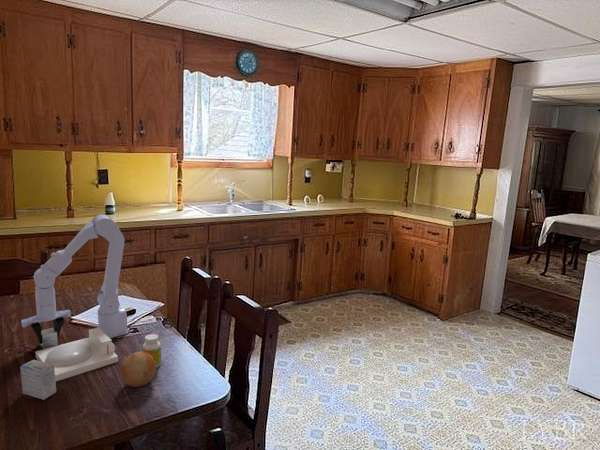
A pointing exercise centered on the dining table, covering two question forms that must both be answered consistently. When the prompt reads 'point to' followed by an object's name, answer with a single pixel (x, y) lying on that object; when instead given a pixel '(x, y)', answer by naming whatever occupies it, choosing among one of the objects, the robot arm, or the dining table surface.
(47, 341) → the steel weight
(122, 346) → the dining table surface
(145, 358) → the onion
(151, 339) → the supplement bottle
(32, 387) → the medicine box
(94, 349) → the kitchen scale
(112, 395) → the dining table surface
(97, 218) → the robot arm
